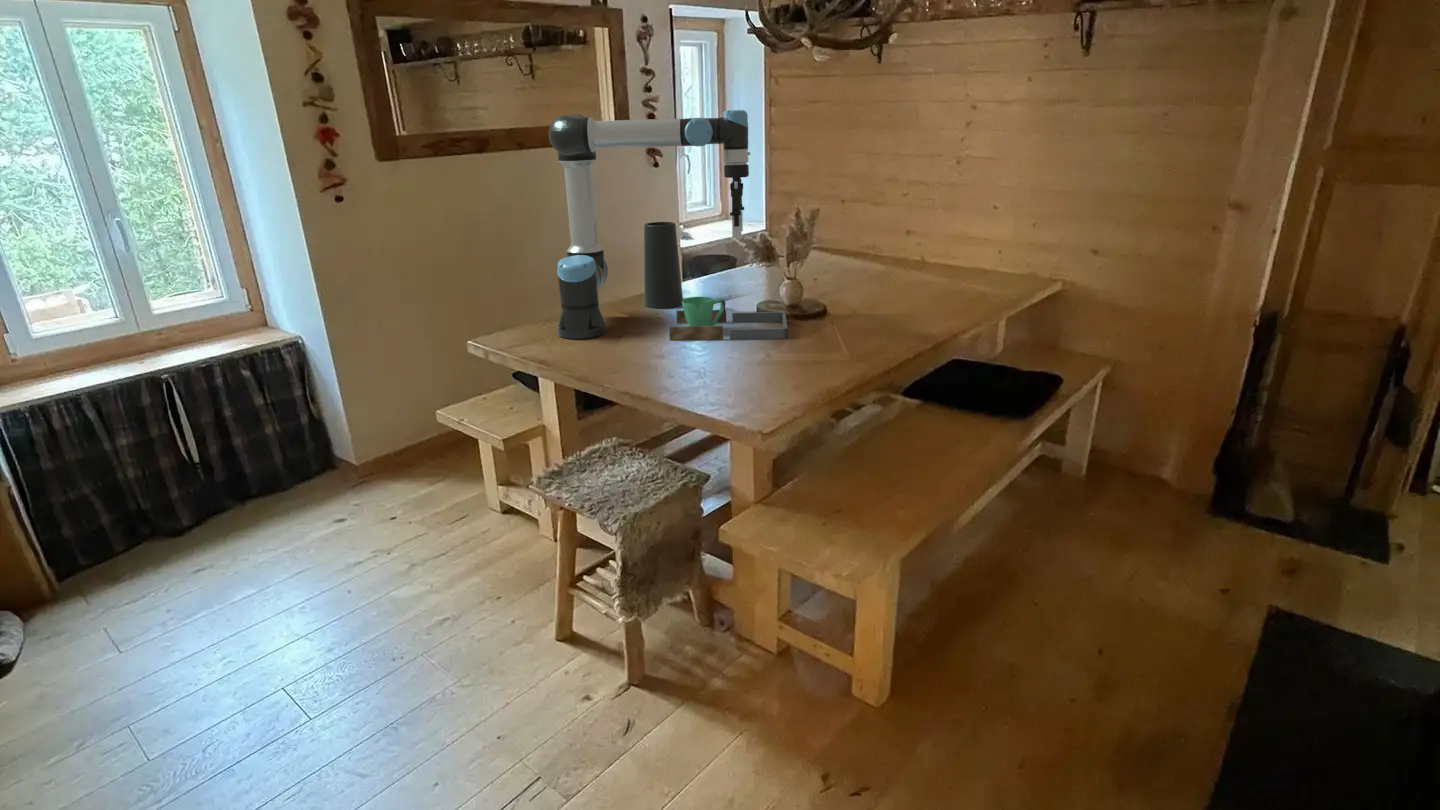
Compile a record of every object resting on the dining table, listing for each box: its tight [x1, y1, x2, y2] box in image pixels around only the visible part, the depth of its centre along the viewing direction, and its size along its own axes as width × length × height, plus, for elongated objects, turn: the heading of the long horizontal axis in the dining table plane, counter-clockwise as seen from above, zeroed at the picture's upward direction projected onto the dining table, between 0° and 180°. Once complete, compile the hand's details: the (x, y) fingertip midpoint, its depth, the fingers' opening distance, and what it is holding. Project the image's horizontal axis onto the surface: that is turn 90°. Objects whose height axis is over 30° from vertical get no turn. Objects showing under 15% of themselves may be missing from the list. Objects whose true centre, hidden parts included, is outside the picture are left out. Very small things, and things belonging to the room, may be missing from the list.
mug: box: [681, 296, 726, 326], centre depth 245 cm, size 15×10×10 cm
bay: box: [668, 309, 727, 341], centre depth 246 cm, size 16×22×4 cm
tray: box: [729, 311, 788, 341], centre depth 245 cm, size 17×22×3 cm
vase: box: [643, 221, 684, 310], centre depth 275 cm, size 14×14×29 cm
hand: (737, 234), depth 250 cm, fingers open, 13 cm apart
